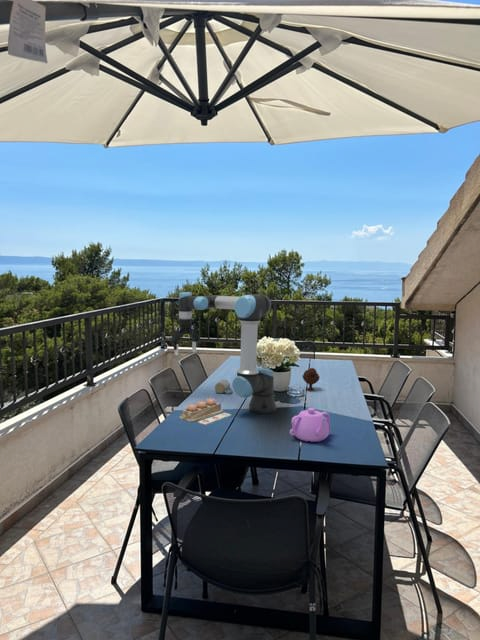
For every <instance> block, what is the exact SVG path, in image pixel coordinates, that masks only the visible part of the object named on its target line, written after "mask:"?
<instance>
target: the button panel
mask: <svg viewBox="0 0 480 640" xmlns="http://www.w3.org/2000/svg"><path fill="white" fill-rule="evenodd" d="M205 402H206V408H203V409H200V408H197V411H194V412H190V411H188V407H187V408H184V409H181V415H179V417H178V418H179V419H181V420H183V421H187V422H190V423H194V422H199V421H201V420H204V419H207V418H210V417H213V416H216V415H219V414H222V413H224V410H223V409H222V403H218V402H215V405H213V406H209V405H207V401H205Z"/></svg>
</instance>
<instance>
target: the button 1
mask: <svg viewBox="0 0 480 640" xmlns="http://www.w3.org/2000/svg"><path fill="white" fill-rule="evenodd" d="M187 408H188V411H190V412H194V411H197V403H196V404H195V403H189V404H187Z"/></svg>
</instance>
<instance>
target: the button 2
mask: <svg viewBox="0 0 480 640" xmlns="http://www.w3.org/2000/svg"><path fill="white" fill-rule="evenodd" d="M206 402H207V405H209V406H213V405H215V403H216V399H215V398H212V397H210V398H207V399H206Z"/></svg>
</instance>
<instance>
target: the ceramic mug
mask: <svg viewBox="0 0 480 640" xmlns="http://www.w3.org/2000/svg"><path fill="white" fill-rule="evenodd" d="M214 390H215V392H216V393H218V394H224V393H225V394H228V395H229V394H230V395H231V394H232V393H233V392H234V390H233V388H231V384H230V381H228V380H227V379H225V378H223V379H220V381H218V382H217V383H215V387H214Z"/></svg>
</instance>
